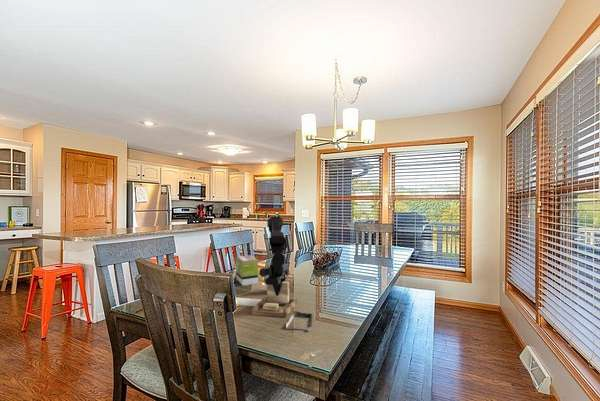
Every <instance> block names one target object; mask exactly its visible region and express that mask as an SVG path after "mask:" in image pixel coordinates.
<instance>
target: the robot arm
mask: <svg viewBox="0 0 600 401" xmlns="http://www.w3.org/2000/svg"><path fill="white" fill-rule="evenodd" d="M266 223H267V224H266V225H267V228H268V232H269V233H270V234H269V235H270V237H268V244H269V245H268V246H269V247H268V249H269V251H271V252H270V253H271V254H270V256H271V259H270V260H271V263H270V264H269V266H267V267H262V268H260V269H259V270H258V276H260V277H261V278H264V277H266V276H267V278H266V279H265V280H264V284H265V285H266V286H267V285H273V288H274V291H275V294H276V296H278V295H279V292H280V289H281V286H282V283H283V282H287V281H286V280H287V277H288V276H289V275H290V270H289V269H288V268H285V266H286V257H285V254H284V253H285V252H284V251H287V248H288V241H287V238H286V236H285V234H284V232H283V231H282V228H283V227H284V219H283V218H281V217H280V216H278V215H277V216H276V215H275V216H271V217H270V218H267V222H266Z"/></svg>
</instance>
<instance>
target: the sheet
mask: <svg viewBox="0 0 600 401" xmlns="http://www.w3.org/2000/svg"><path fill="white" fill-rule="evenodd" d="M266 293H267V294H266V297H267V301H266V303H284V304H289V303H288V302H289V299H290V282H289V281H285V282H283V283H282V286H281V289H280V292H279V295H278V296H276V294H275V291H274V288H273V285H266Z"/></svg>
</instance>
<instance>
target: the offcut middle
mask: <svg viewBox="0 0 600 401" xmlns="http://www.w3.org/2000/svg"><path fill="white" fill-rule="evenodd" d="M259 310H260V311H273V312H281V311H282V310H283V309H282V307H281V306H279V307H278V309H277V310H267V309H263V306H261V307H260V308H259ZM282 312H283V311H282Z"/></svg>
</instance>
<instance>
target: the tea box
mask: <svg viewBox="0 0 600 401" xmlns="http://www.w3.org/2000/svg"><path fill="white" fill-rule="evenodd" d="M235 264H236V266H235V267H236V280H237V282H239V283H240V284H241V286H242V287H244V286H248V285H249V286H250V285H257V284H258V283H259V265H258V264H259V263H258V259H257V258H256V257H255V256H254V255H251V254H249V255H240V256H236V257H235Z"/></svg>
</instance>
